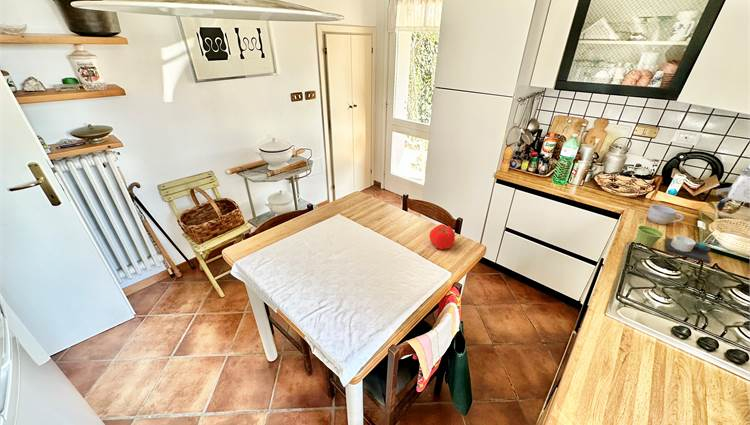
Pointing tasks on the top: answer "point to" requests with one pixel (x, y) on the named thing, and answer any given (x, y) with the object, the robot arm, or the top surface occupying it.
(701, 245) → the tare button
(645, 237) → the plant pot
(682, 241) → the bowl
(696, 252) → the scale
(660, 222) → the teacup
